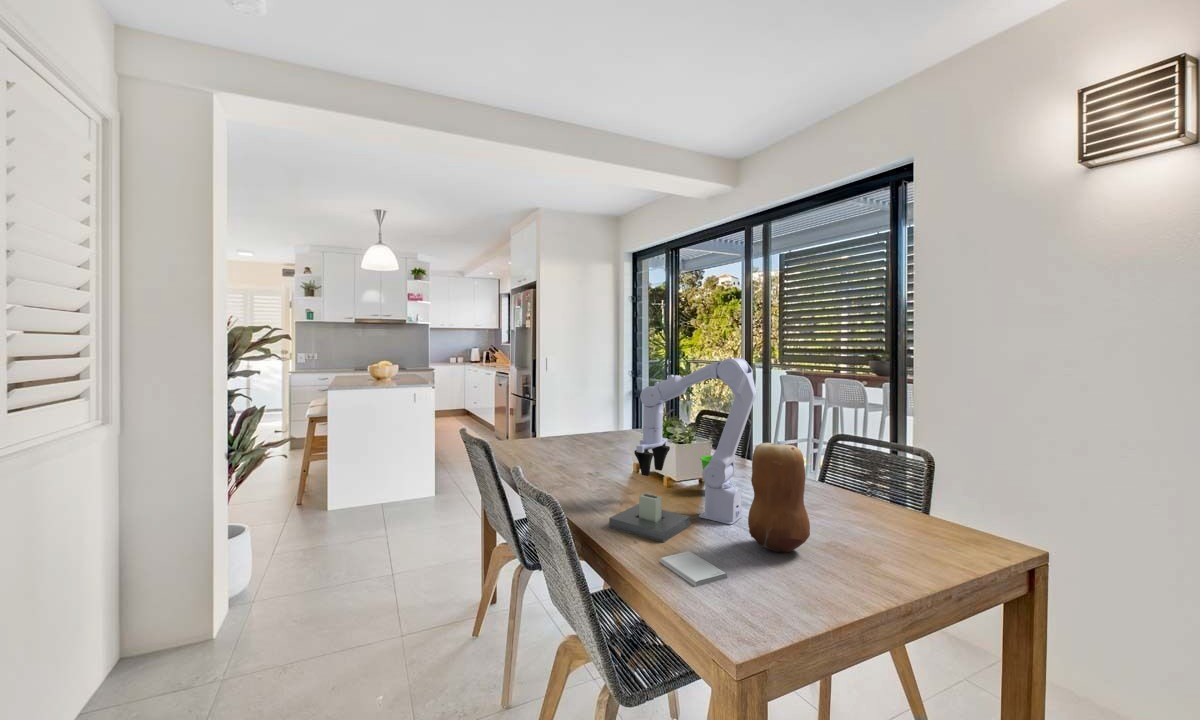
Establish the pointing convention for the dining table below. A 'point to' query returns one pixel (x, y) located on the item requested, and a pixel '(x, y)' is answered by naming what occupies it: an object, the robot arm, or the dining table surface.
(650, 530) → the key plate
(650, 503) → the keyed block
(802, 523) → the butternut squash
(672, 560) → the hard drive
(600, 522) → the dining table surface
